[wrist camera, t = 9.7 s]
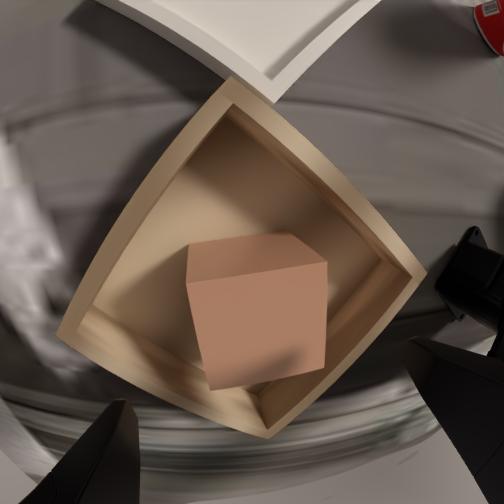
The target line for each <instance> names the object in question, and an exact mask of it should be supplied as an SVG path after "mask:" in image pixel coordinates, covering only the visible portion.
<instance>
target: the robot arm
mask: <svg viewBox="0 0 504 504" xmlns="http://www.w3.org/2000/svg"><path fill="white" fill-rule="evenodd" d="M435 289H436V291H437V292H438V294H439V295H440V296H441V298H442V299H443V301H444V302H445V304H446V305H447V306H448V308H449V309H450V311H451V312H452V314H453V315H454V317H455V318H456V319H457V320H458V321H462V320H463V319H464V317H465V316H466V314H467V315H469V316H470V317H472V318H473V319H475V320H476V321H478V322H479V323H481V324H482V325H484V326H485V327H486V328H488V329H489V330H491V331H492V332H494V333H495V334H496V335H497V336H496V338H495V340H494V343H493V345H492V347H491V349H490V351H488V354H487V356H485V355H481V354H478V353H474V352H471V351H467V350H464V349H460V348H457V347H454V346H450V345H447V344H443V343H440V342H437V341H433V340H430V339H427V338H423V337H420V336H415V337H413V338H410V339H408V340H407V342H406V345H405V350H404V354H403V364H404V366H405V368H406V369H407V371H408V373H409V375H410V377H411V378H412V380H413V382H414V384H415V386H416V388H417V389H418V391H419V393H420V395H421V397H422V398H423V400H424V401H425V403H426V404H427V406H428V407H429V408H430V410H431V411H432V413H433V414H434V416H435V417H436V419H437V420H438V422H439V423H440V425H441V426H442V428H443V429H444V431H445V432H446V434H447V435H448V437H449V439H450V440H451V442H452V443H453V445H454V446H455V448H456V449H457V451H458V453H459V454H460V456H461V458H462V459H463V461H464V462H465V464H466V465H467V467H468V469H469V470H470V472H471V474H472V475H473V476H474V479H475V481H476V483H477V484H478V486H479V488H480V489H481V491H482V493H483V495H484V496H485V498H486V500H487V502H488V503H489V504H504V255H502V254H500V253H498V252H495V251H493V250H490V249H488V247H487V245H486V242H485V240H484V238H483V235H482V233H481V231H480V229H479V227H477V226H473V227H472V228H471V230H470V231H469V233H468V235H467V237H466V238H465V240H464V242H463V243H462V245H461V246H460V248H459V250H458V251H457V253H456V255H455V256H454V258H453V259H452V261H451V262H450V264H449V265H448V267H447V268H446V270H445V271H444V273H443V274H442V276H441V277H440V279H439V280H438V282H437V283H436V286H435ZM139 496H140V449H139V429H138V419H137V416H136V414H135V412H134V410H133V408H132V406H131V404H130V402H129V401H128V400H127V399H114V400H113V401H112V402H111V403H110V404H109V405H108V407H107V408H106V409H105V410H104V411H103V412H102V413H101V415H100V416H99V417H98V418H97V419H96V420H95V421H94V422H93V424H92V425H91V426H90V427H89V428H88V429H87V430H86V431H85V433H84V434H83V435H82V436H81V437H80V438H79V439H78V440H77V442H76V443H75V444H74V445H73V446H72V447H71V448H70V450H69V451H68V452H67V453H66V454H65V455H64V456H63V458H62V459H61V460H60V461H59V462H58V463H57V464H56V465H55V467H54V468H53V469H52V470H51V472H49V473H48V474H47V476H46V477H45V478H44V479H43V480H42V481H41V482H40V483H39V484H38V485H37V487H36V488H35V489H34V490H33V491H32V492H31V493H29V494H28V496H26V497H25V498H24V499H23V500H22V501H21V502H20V503H19V504H139Z"/></svg>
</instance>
